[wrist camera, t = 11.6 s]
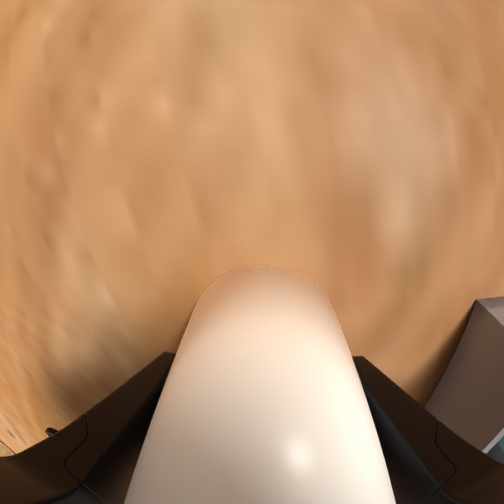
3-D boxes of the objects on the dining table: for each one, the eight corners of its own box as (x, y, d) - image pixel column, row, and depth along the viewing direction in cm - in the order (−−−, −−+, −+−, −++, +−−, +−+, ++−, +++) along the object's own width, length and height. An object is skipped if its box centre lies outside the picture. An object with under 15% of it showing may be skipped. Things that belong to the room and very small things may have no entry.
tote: (483, 442, 15) (498, 476, 10) (365, 482, 15) (374, 530, 11) (578, 284, 8) (615, 316, 4) (476, 299, 9) (544, 372, 4)
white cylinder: (323, 378, 10) (350, 540, 4) (199, 376, 10) (161, 537, 4) (345, 266, 8) (453, 475, 2) (185, 262, 9) (70, 471, 2)
